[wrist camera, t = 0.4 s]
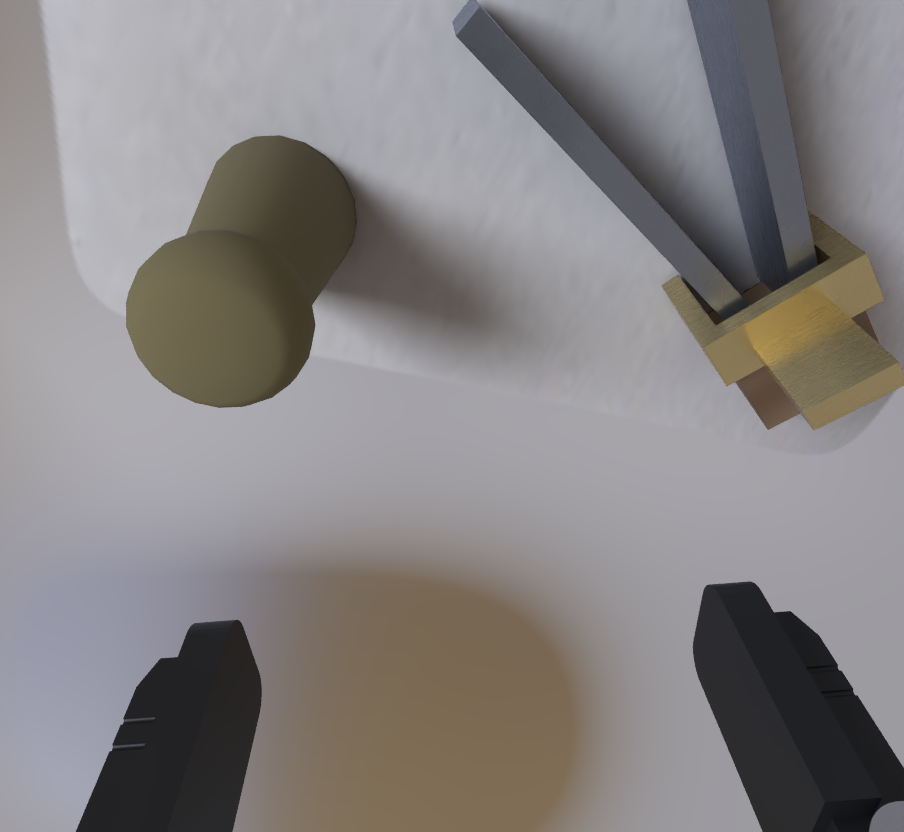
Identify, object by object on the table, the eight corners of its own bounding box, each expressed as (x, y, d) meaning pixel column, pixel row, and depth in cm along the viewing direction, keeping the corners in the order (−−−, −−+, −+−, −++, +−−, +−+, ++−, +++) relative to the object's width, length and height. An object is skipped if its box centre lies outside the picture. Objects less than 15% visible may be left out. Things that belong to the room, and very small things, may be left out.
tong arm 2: (735, 289, 28) (775, 334, 25) (716, 304, 29) (752, 350, 26) (472, -4, 22) (479, 6, 19) (452, 21, 22) (456, 36, 19)
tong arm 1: (780, 266, 28) (826, 308, 25) (757, 276, 28) (799, 320, 25) (679, -181, 19) (728, -205, 16) (646, -161, 20) (689, -180, 16)
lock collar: (812, 242, 28) (958, 358, 20) (683, 320, 30) (770, 452, 22) (794, 201, 26) (940, 307, 19) (661, 285, 28) (745, 411, 21)
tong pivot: (827, 309, 30) (889, 367, 26) (724, 366, 31) (767, 429, 27) (802, 257, 28) (864, 310, 24) (696, 320, 30) (738, 380, 26)
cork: (373, 268, 28) (346, 421, 19) (239, 293, 29) (154, 454, 20) (331, 120, 24) (275, 224, 16) (180, 152, 25) (42, 271, 16)
